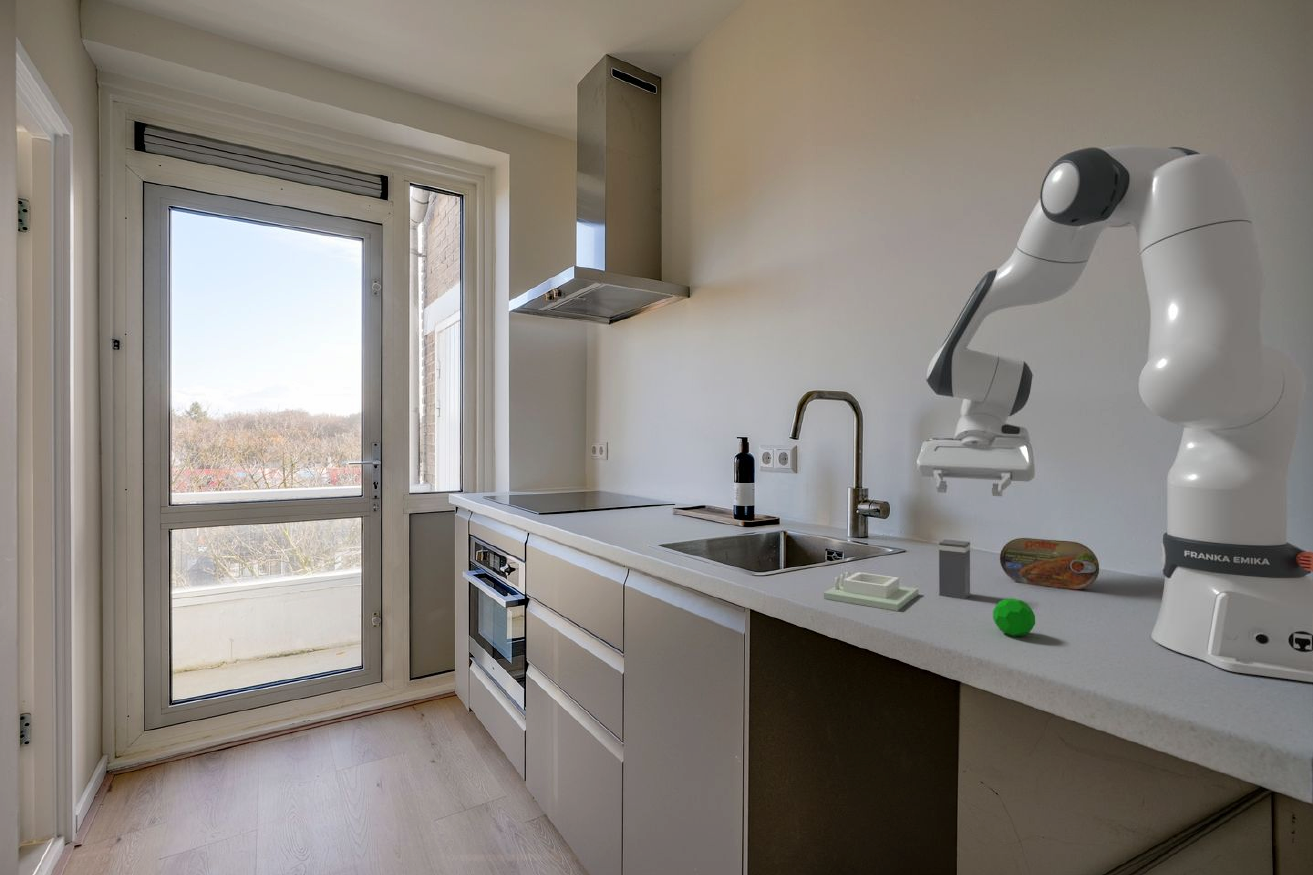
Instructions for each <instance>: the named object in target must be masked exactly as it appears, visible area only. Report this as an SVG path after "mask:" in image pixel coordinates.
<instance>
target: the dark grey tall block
mask: <svg viewBox="0 0 1313 875" xmlns="http://www.w3.org/2000/svg"><path fill="white" fill-rule="evenodd" d="M938 543H939V544H938V554H939V555H938V557H939V558H938V566H939V567H938V574H939V575H938V578H939V580H938V584H939V585H938V586H939V587H938V590H939V591H938V593H939V594H938V596H940V597H949V598H954V599H960V600H967V598H968V597H969V596H970V595H971V542H970V541H964V540H954V539H943V540H941V541H940V542H938Z"/></svg>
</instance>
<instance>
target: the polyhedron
mask: <svg viewBox="0 0 1313 875" xmlns="http://www.w3.org/2000/svg"><path fill="white" fill-rule="evenodd" d="M992 619H993V621H994V624H995V625H996V627H997V628H998V629H999V631H1001V632H1003V633H1004V634H1006V635H1008V636H1012V637H1023V636H1025V635H1028V634H1030V632H1031V631H1032V630H1033V628H1034V627H1035V624H1036V615H1035V613H1034V611H1033V609H1032V608H1031V606H1029V604H1028V603H1027V602H1025V601H1023V600H1021V599H1018V598H1017V599H1016V598H1005V599H1001V600H1000V601H998V603H997V604H995V607H994V608H993V610H992Z"/></svg>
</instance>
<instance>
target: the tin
mask: <svg viewBox="0 0 1313 875" xmlns="http://www.w3.org/2000/svg"><path fill="white" fill-rule="evenodd" d="M999 562H1000V563H999V564H1000V566H1001V568H1002V570H1003V571H1004V573H1005V575H1007V577H1009V578H1010V579H1011V580H1013V581H1015V582H1016V583H1019V584H1022V585H1023V584H1025V585H1031V586H1041V587H1050V588H1057V589H1065V590H1072V591H1073V590H1082V589H1085V588H1088V587H1089V586H1091V585H1092V584H1093V583H1094V582H1095V581H1096V580H1097V578H1099V577H1098V576H1099V573H1100V562H1099V560H1098V558H1097V555H1096V554H1095V553H1094V552H1093V550H1091V549H1090V548H1089V547H1088V546H1087V545H1084V544H1082V543H1080V542H1076V541H1069V540H1056V539H1043V538H1032V537H1031V538H1029V537H1019V538H1015V539H1011V540H1010V541H1008V542H1007V543H1005V545H1003V547H1002V549H1001V551H1000V554H999Z"/></svg>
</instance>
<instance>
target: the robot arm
mask: <svg viewBox="0 0 1313 875" xmlns="http://www.w3.org/2000/svg"><path fill="white" fill-rule="evenodd" d="M1039 193H1040V195H1039V199H1038V201H1037V203H1036V205H1035V207H1034V208H1033V210H1032V211H1031V213H1030V215H1029V217H1028V219H1027V221H1026V223H1025V224H1024V226H1023V229H1022V231H1021V234H1020V236H1019V239H1018V240H1017V244H1016V246H1015V248H1014V250H1013V252H1012V254H1011V256H1010V257H1009V258H1008V259H1007V260H1006V261H1005V262H1004V263H1003V264H1002V265H1001V266H999V267H998V268H997V269H994V270H990V271H988V272H987V273H986V274H984V275H983V276H982V278H981V279H980V280H979V282H978V284H977V285H976V286H975V288H974V289H973V291H972V293H971V295H970V296H969V298H968V300H967V302H966V303H965V305H964V307H963V309H961V312H960V314H959V316H958V317H957V318H956V321H955V323H954V325H953V326H952V328H951V330H949V332H948V335H947V337H946V338H945V340H944V342H943V343H942V344H941V346H940V347H939V349H938V350H937V351H936V353H935V354H934V355H933V357H932V358H931V360H930V362H929V364H928V366H927V370H926V378H925V380H926V382H927V384H928V386H929V387H930V389H931V390H932V391H933V392H934V394H936V395H938V396H943V397H944V396H945V397H951V398H954V397H955V398H960V399H962V403H961V406H960V412H959V413H960V418H959V419H958V421H957V424H956V428H955V432H954V436H953V437H944V438H942V437H941V438H940V437H939V438H938V437H932V438H930V439H928V440H925V441H923V442H922V444H921V447H920V452H919V454H918V457H917V459H916V468H917V471H918V472H919V474H920V475H921V477H928V478H932V477H933V478H934V480H935V482H936V491H937V493H943V494H944V493H947V489H948V484H947V480H944V478H948V479H967V480H968V479H970V480H990V481H991V480H992V481H999V482H998V483H992V488H991V494H992V495H991V496H993V497H1000V498H1001V497H1003V491H1004V490H1005V489H1007V488H1008V487H1009V486H1010V485H1011V484H1012V482H1024V483H1026V482H1031V481H1032V480H1033V479H1035V475H1036V474H1035V472H1036V470H1035V469H1036V468H1035V458H1034V451H1033V447H1032V446H1033V445H1032V444H1031V439H1030V434H1029V431H1028V428H1026V427H1023V426H1018V425H1013V424H1009V423H1007V422H1008V418H1009V417H1011V416H1014V415H1016V414H1017V413H1018V412H1020V411H1022V409H1024V407H1025V406H1026V404H1027V403H1028V400H1029V399H1030V398H1029V397H1030V395H1031V389H1032V381H1033V376H1034V374H1033V371H1032V370H1031V367H1030V366H1029V365H1028V363H1027V362H1026V361H1025V360H1024V361H1023V360H1020V359H1016V358H1013V357H1009V356H1003V355H997V354H992V353H987V352H982V351H977V350H973V349H970V348H968V346H969V345H970V343H971V341H972V340H973V338H974V336H975V335H976V333H977V331H978V329H979V328H980V327H981V325H982V323H983V321H984V320H985V319H986V318H987V317H988V316H989V315H992V313H993V314H994V313H995V312H997V311H1000V310H1003V309H1008V308H1014V307H1022V306H1031V305H1038V304H1043V303H1046V302H1050V301H1053V300H1054V299H1057V298H1059V297H1061V296H1063V295H1064V294H1066V293H1067V292H1069V291H1070V290H1071V289H1072V288H1073V287H1074V286H1075V285H1076V284H1077V282H1078V280H1079V279H1080V278H1081V275H1082V274H1083V272H1084V270H1085V268H1086V266H1087V264H1088V261H1089V260H1090V257H1091V255H1092V253H1093V251H1094V248H1095V245H1096V243H1097V241H1098V240H1099V239H1098V238H1099V237H1100V235H1101V234H1102V232H1103V231H1105V230H1106V229H1107V228H1108V227H1109V228H1129V227H1134V229H1135V231H1136V235H1137V242H1138V248H1139V255H1140V258H1141V264H1142V270H1143V275H1144V282H1145V286H1146V291H1147V292H1146V293H1147V296H1148V304H1149V312H1150V313H1149V314H1150V316H1149V317H1150V318H1149V319H1150V320H1149V336H1148V349H1147V350H1148V352H1147V361H1146V364H1145V365H1144V367H1142V370H1141V373H1140V375H1139V380H1138V392H1139V393H1138V394H1139V396H1140V398H1141V401H1142V402H1143V403H1144V405H1145V407H1147V409H1149V411H1151V413H1153V414H1154V415H1156V416H1158V417H1159V418H1161V419H1163V420H1165V421H1167V422H1170V423H1171V424H1174V425H1176V426H1179V427H1182V428H1183V431H1182V436H1181V441H1180V444H1179V448H1178V450H1177V455H1176V457H1175V460H1174V462H1173V464H1172V466H1171V467H1170V469H1169V471H1168V472H1167V477H1166V532H1165V533H1164V534H1163V536H1162V542H1161V558H1160V559H1161V571H1162V574H1163V576H1164V585H1163V586H1164V587H1163V592H1162V599H1161V602H1160V603H1161V604H1160V607H1159V611H1158V615H1157V617H1156V618H1157V619H1156V622H1155V625H1154V627H1153V630H1152V632H1151V635H1150V637H1151V639H1152V640H1153V641H1154V642H1156V643H1157V644H1159V645H1161V646H1163V647H1165V648H1167V649H1169V650H1172V651H1174V652H1177V653H1180V654H1182V655H1186V656H1188V657H1193V658H1195V659H1198V660H1201V661H1204V662H1206V663H1209V664H1211V665H1213V666H1215V667H1217V668H1220V669H1223V670H1226V671H1230V672H1234V673H1242V674H1247V675H1257V676H1264V677H1271V678H1278V679H1286V680H1287V679H1288V680H1295V681H1301V682H1309V683H1313V578H1312V577H1310V576H1309V574H1312V572H1313V552H1312V551H1306V550H1304V549H1302V548H1300V547H1298V546H1295V545H1293V543H1290V542H1287V518H1288V516H1287V513H1288V512H1287V510H1288V509H1287V506H1288V505H1287V498H1288V496H1287V495H1288V494H1287V492H1288V489H1287V488H1288V487H1287V486H1288V478H1289V477H1288V476H1289V469H1290V463H1291V458H1292V456H1293V455H1292V454H1293V450H1294V446H1295V441H1296V437H1297V436H1296V435H1297V431H1298V426H1299V418H1300V411H1301V405H1302V402H1303V400H1304V398H1305V396H1306V392H1307V379H1306V376H1305V373H1304V372H1303V371H1302V369H1301V367H1300V366H1299V365H1298V364H1297V363H1296V361H1294V360H1293V359H1292V358H1291V357H1289V355H1287V354H1286V353H1284V352H1282V351H1280V350H1278V349H1275V348H1272V347H1268V346H1264V344H1263V341H1262V336H1261V306H1262V305H1261V304H1262V296H1263V293H1264V291H1265V288H1266V281H1265V276H1264V271H1263V266H1262V263H1261V258H1260V253H1259V248H1258V244H1257V239H1256V234H1255V230H1254V225H1253V220H1252V217H1251V214H1250V213H1251V212H1250V209H1249V206H1248V203H1247V201H1246V198H1245V195H1244V193H1243V190H1242V187H1241V185H1240V184H1239V181H1238V179H1237V178H1236V176H1235V173H1234V172H1233V170H1232V168H1231V166H1230V165H1229V163H1228V162H1227V161H1226V160H1225V159H1223V158H1222V157H1220V156H1218V155H1215V154H1211V153H1210V154H1209V153H1200V152H1198V151H1196V150H1194V149H1193V150H1192V149H1190V148H1186V147H1180V146H1171V147H1159V146H1147V145H1145V146H1143V145H1137V144H1131V145H1129V144H1127V145H1126V144H1125V145H1117V146H1116V145H1115V146H1107V147H1101V148H1098V147H1092V146H1091V147H1087V148H1086V147H1085V148H1082V149H1077V150H1074V151H1071V152H1068V153H1066V154H1064V155H1062V156H1060V157H1059V158H1058V159H1057V160H1056V161H1055V162H1053V163H1052V165H1051V167H1050V168H1048V170H1047V172H1046V174H1045V175H1044V179H1043V181H1042V183H1041V187H1040V192H1039Z"/></svg>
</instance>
